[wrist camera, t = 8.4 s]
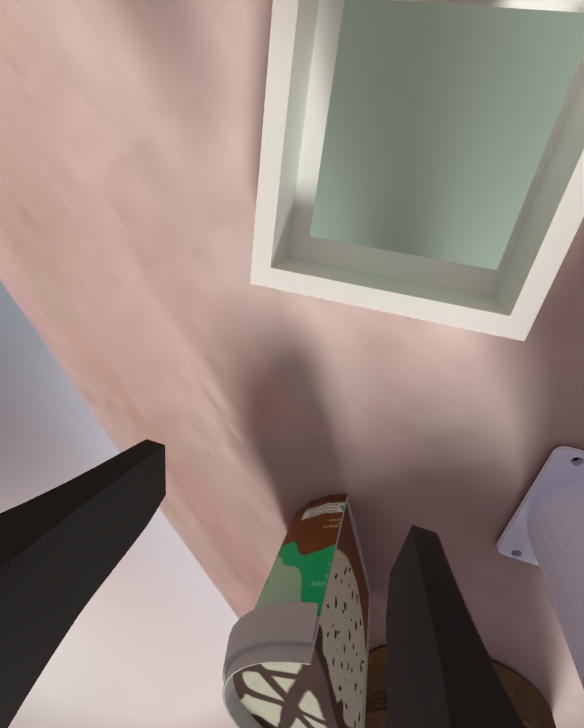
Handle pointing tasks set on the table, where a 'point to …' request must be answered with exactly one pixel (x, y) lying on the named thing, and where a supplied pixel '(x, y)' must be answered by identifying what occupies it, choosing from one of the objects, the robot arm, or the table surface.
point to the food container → (305, 630)
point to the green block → (440, 124)
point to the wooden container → (519, 690)
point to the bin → (388, 268)
